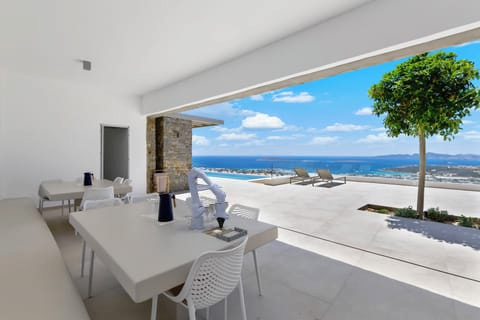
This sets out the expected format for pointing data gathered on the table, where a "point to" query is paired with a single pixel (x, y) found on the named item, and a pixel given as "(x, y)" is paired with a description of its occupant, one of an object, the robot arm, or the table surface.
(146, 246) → the table surface
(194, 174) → the robot arm
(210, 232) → the walnut board
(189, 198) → the heart sculpture
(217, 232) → the cream tile
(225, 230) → the sage tile
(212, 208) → the goblet set
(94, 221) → the table surface
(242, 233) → the tray
